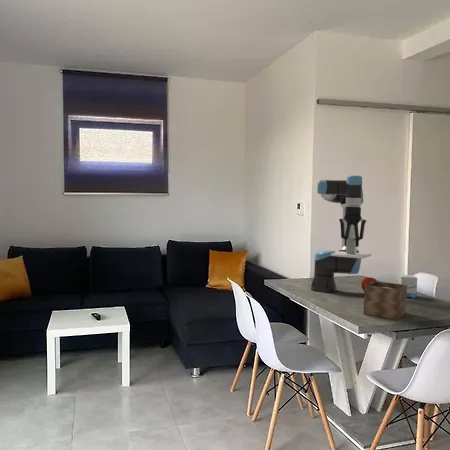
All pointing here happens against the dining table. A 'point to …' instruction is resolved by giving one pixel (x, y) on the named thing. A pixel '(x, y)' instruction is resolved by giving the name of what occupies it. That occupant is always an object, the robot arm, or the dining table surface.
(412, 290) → the ink box
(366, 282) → the apple
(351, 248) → the lid
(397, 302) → the crate
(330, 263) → the robot arm
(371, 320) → the dining table surface
